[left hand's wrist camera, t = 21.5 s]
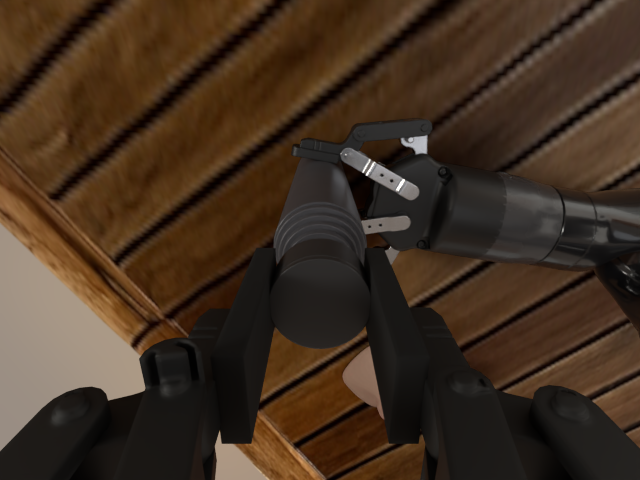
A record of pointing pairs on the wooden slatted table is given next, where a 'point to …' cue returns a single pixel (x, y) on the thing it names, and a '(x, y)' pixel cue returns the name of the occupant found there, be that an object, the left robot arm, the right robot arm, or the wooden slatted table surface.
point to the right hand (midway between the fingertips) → (288, 181)
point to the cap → (320, 294)
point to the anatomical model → (363, 379)
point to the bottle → (320, 209)
